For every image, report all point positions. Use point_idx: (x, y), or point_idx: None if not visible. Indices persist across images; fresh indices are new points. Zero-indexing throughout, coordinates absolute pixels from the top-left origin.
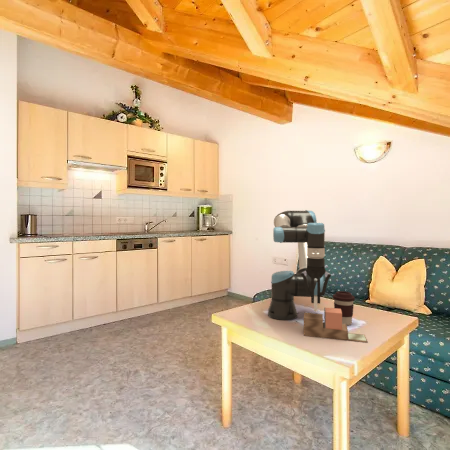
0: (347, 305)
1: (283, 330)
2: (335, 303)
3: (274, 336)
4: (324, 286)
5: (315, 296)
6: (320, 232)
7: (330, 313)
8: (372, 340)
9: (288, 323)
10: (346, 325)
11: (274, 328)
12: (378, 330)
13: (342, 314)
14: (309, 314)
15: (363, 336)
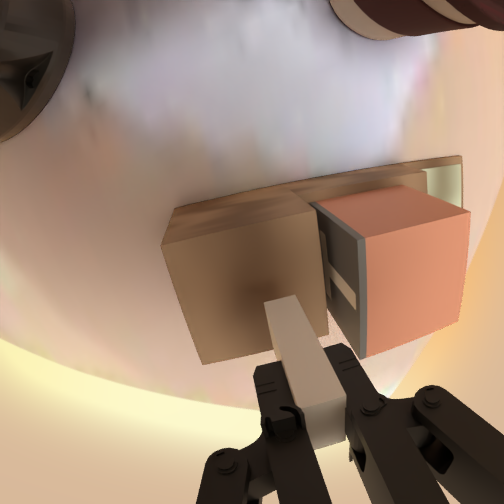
0: (476, 23)
1: (87, 285)
2: None
3: (97, 364)
4: (474, 500)
5: (323, 444)
6: None
7: (394, 342)
8: (475, 200)
9: (61, 163)
10: (427, 189)
11: (42, 281)
12: (492, 72)
13: (408, 31)
14: (216, 275)
15: (457, 185)
